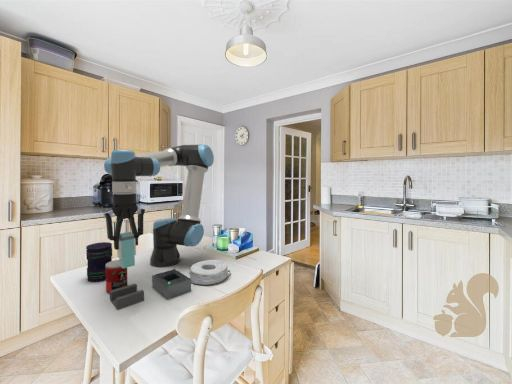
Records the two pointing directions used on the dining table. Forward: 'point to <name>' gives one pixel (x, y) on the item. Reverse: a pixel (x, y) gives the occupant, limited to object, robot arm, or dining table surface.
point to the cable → (209, 272)
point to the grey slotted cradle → (126, 296)
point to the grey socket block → (171, 283)
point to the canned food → (115, 276)
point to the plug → (127, 250)
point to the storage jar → (98, 260)
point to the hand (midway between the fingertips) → (126, 255)
